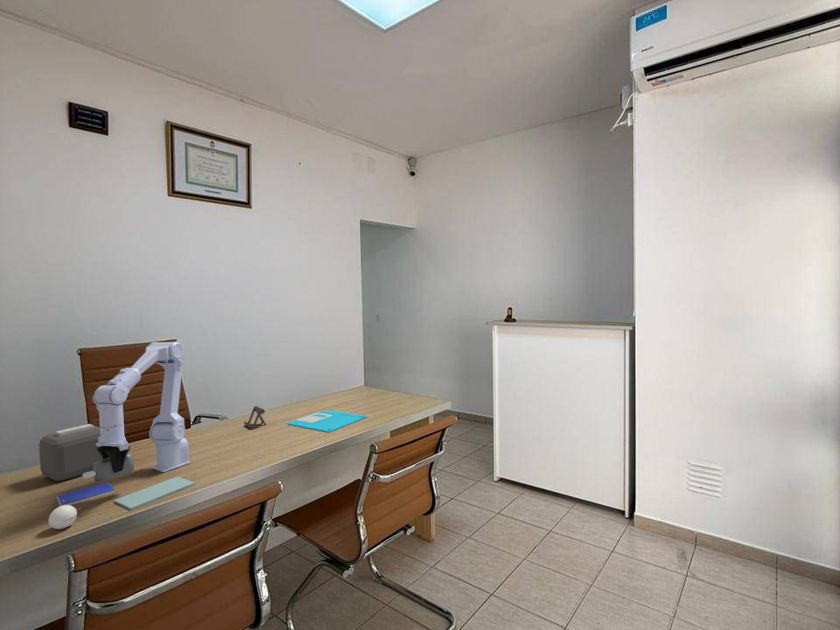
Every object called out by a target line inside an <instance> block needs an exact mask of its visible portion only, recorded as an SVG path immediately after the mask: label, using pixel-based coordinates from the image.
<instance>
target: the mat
mask: <svg viewBox="0 0 840 630" xmlns="http://www.w3.org/2000/svg"><path fill="white" fill-rule="evenodd" d="M195 484H196V482H194V481H192V480H189V479H185V478H183V477H180V476H175V477H173V478H170V479H168V480H165V481H162V482H160V483H156V484H154V485H151V486H149V487H145V488H144V489H141V490H138V491H137V490H136V491H135V492H132V493H129V494H126V495H124V496H121V497H119V498H115V499H114V500H113V501H114V503H116V504H117V505H120V506H122V507H124V508H126V509H128V510H130V511H133V510H135V509H138V508H140V507H142V506H145V505H147V504H150V503H152V502H155V501H158V500H160V499H163V498H166V497H168V496H170V495H173V494H176V493H178V492H181V491H183V490H185V489H188V488H190V487H193V486H195Z"/></svg>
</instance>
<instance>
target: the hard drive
mask: <svg viewBox="0 0 840 630" xmlns="http://www.w3.org/2000/svg"><path fill="white" fill-rule="evenodd" d="M112 493H115V489H114V487H113V486H112V485H111V483H110V482H108V481H107V482H104V483H101V484H97V485H94V486H89V487H86V488H83V489H78V490H74V491H71V492H66V493H63V494H60V495H57V496H56V500H57V501H58V504H59V507H60V506H63V505H70V506H73V505H75V504H79V503H82V502H85V501H88V500H91V499H95V498H99V497H102V496H106V495H109V494H112Z"/></svg>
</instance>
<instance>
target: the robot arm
mask: <svg viewBox="0 0 840 630" xmlns="http://www.w3.org/2000/svg"><path fill="white" fill-rule="evenodd" d="M144 350H145V353H143V354H142V355H141V356H140V357H139V358H138V359H137V360H136V362H135V363H134V364H133V365H132V366H131V367H125V368H121V369H120V370H119V372H118V374H117V375H116V376H114V377H113V378H112V379H110V380H109V381H108V383H106V384H104V385H100V386H99V387H98V388H97V389H96V390H95V391H94V394H93V396H92V401H93V403H94V404H95V405H96V410H97V411H98V417H99V427H100V437H98V441H99V443H96V446H101V447H98V448H97V451H98V452H99V453H100V454H101V456H102V458H103V459H107V458H110V461H111V465H112V469H113V472H114V473H116V472H119V471H122V470H123V466H124V462H125V458H126V455H127V453H129V451H130V450H131V446H130V445H129V442H128V441H127V439H126V437H125V423H124V421H125V419H124V407H123V406H124V404H123V403H124V402H126V400H127V398H128V394H129V393H130V391H131V389H132V388H134V387H135V386H136V385H137V384H138V383H139V382H140V381H141V378H142V376H141V375H142V374H143V373H144V372H145V371H147V370H148V369H150V368H151V366H153V365H154V364H157V365H160V366H161V367H162V368H163V369H164V374H163V384H162V392H161V393H162V394H161V401H160V411H159V414H158V415H157V416H155V418H153V419H152V424H151V426H150V430H149V434H148V435H149V438H150V439H151V441H153V444H155V451H156V454H155V455H156V465H154V466H153V465H152V466H151V469H153V470H156V471H158V472H161V473H166V472H169V471H171V470H174V469H178V468H180V467H183V466H187V465H188V464H191V461H190V449H189V443H188V440H187V439H186V438H185V437H184V436H185V433H186V427H185V418H184V417H183V416H181V415H180V414H178V413H179V412H178V411H179V403H180V393H181V383H182V382H181V381H182V375H183V374H182V373H183V367H184V366H183V365H184V358H185V347H184V345H182V343H181V342H179V341H171V342H170V341H169V342H165V341H164V342H160V341H159V342H157V341H155V342H154V341H153V342H151V343H150V344H149V345H148V346H146V347H145V349H144Z"/></svg>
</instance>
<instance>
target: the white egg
mask: <svg viewBox="0 0 840 630" xmlns="http://www.w3.org/2000/svg"><path fill="white" fill-rule="evenodd" d="M78 510H80V508H79V509H77V508H75V506H73V505H63V506H60V505H59V506H58V507H56V508H55V509H54V510H52V511H51V513H50V514H49V517H48V525H49V526H50V527H51V528H52V529H54V530H62V529H65V528H67V527H69V526H71V525H72V524H73V523H75V521H76V519H77V515H78V512H77V511H78Z"/></svg>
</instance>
